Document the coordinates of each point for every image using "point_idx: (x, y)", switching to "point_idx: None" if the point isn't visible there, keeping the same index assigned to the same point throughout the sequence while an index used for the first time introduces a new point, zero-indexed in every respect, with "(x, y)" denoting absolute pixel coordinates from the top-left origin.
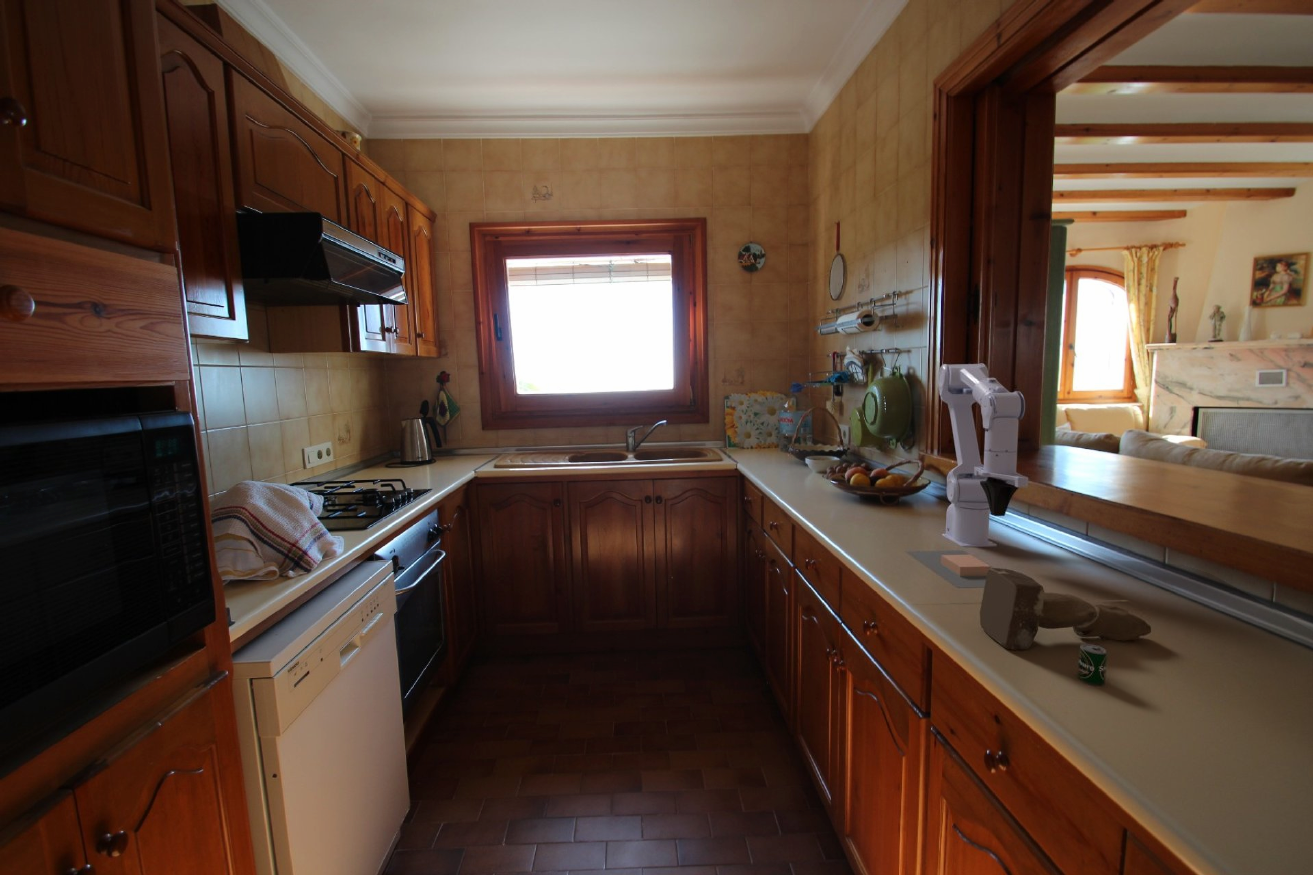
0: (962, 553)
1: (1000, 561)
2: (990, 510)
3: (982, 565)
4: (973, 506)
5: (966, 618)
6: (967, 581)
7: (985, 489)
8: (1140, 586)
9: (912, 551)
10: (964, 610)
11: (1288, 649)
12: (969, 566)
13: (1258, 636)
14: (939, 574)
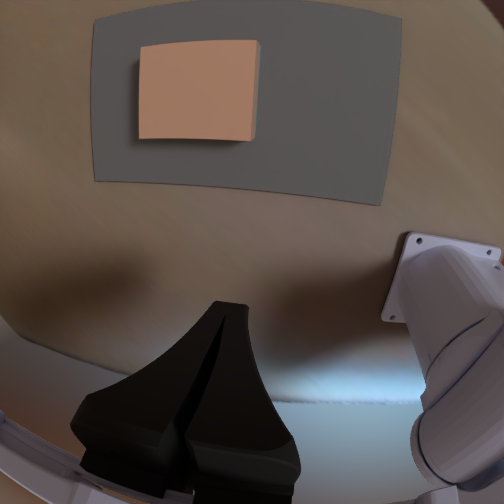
0: (353, 183)
1: (276, 248)
2: (240, 314)
3: (145, 117)
4: (453, 352)
5: (11, 11)
6: (122, 56)
7: (234, 405)
8: (131, 362)
9: (400, 40)
10: (27, 12)
11: (7, 318)
12: (141, 75)
13: (21, 325)
14: (177, 5)
